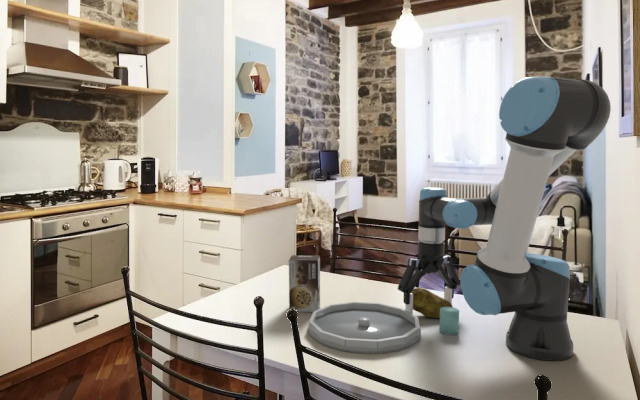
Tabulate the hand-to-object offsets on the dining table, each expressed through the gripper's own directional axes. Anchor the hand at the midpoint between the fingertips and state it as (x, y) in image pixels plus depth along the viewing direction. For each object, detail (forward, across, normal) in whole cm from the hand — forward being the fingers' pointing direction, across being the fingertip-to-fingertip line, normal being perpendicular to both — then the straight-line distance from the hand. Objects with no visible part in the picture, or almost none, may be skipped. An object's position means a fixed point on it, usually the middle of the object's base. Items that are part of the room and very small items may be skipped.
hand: (428, 311), depth 139 cm
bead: (+1, +2, +12) cm, 12 cm away
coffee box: (+2, +32, -19) cm, 37 cm away
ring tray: (+1, +23, +3) cm, 23 cm away
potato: (+1, 0, 0) cm, 1 cm away
